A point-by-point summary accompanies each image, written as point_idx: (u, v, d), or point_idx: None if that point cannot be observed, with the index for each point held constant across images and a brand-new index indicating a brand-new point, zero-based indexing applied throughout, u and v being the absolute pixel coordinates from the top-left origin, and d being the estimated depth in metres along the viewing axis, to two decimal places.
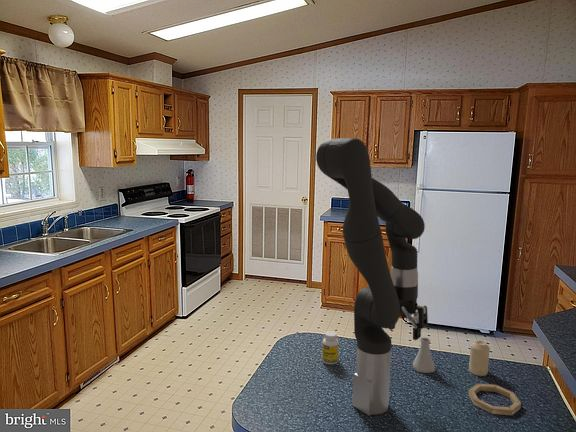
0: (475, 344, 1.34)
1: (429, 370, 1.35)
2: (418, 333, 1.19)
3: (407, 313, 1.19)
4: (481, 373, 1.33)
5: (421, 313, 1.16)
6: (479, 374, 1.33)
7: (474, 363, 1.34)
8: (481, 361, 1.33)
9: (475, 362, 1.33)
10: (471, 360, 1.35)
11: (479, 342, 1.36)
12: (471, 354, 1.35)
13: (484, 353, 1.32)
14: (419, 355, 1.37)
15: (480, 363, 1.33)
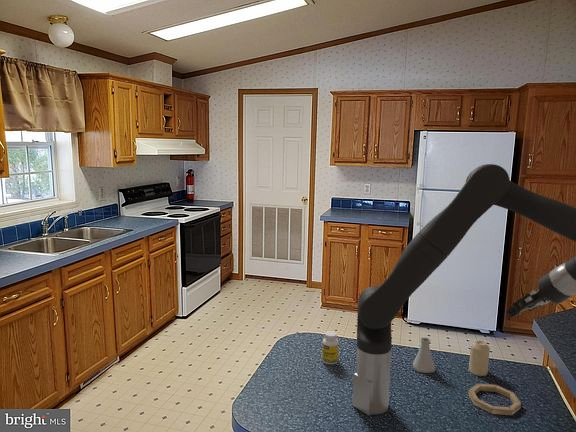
0: (475, 344, 1.34)
1: (429, 370, 1.35)
2: (511, 310, 1.16)
3: (529, 294, 1.14)
4: (481, 373, 1.33)
5: (524, 296, 1.11)
6: (479, 374, 1.33)
7: (474, 363, 1.34)
8: (481, 361, 1.33)
9: (475, 362, 1.33)
10: (471, 360, 1.35)
11: (479, 342, 1.36)
12: (471, 354, 1.35)
13: (484, 353, 1.32)
14: (419, 355, 1.37)
15: (480, 363, 1.33)
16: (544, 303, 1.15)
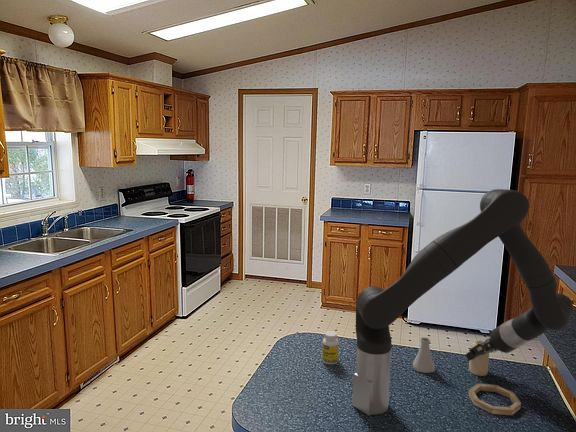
0: (475, 344, 1.34)
1: (429, 370, 1.35)
2: (469, 354, 1.34)
3: (483, 342, 1.31)
4: (481, 373, 1.33)
5: (476, 345, 1.28)
6: (479, 374, 1.33)
7: (474, 362, 1.34)
8: (481, 361, 1.33)
9: (475, 362, 1.33)
10: (471, 360, 1.35)
11: (479, 342, 1.36)
12: None
13: None
14: (419, 355, 1.37)
15: (480, 363, 1.33)
16: (495, 351, 1.32)
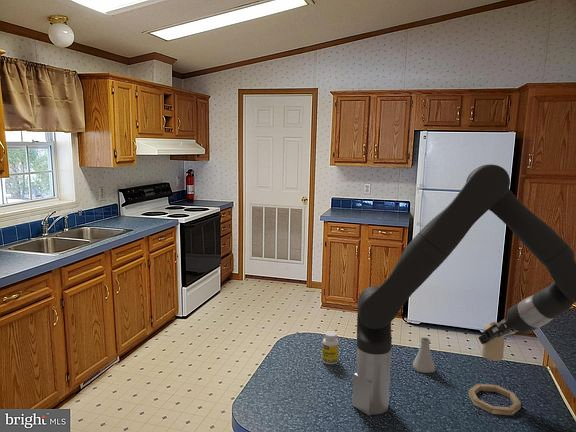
0: (489, 326, 1.21)
1: (429, 370, 1.35)
2: (482, 337, 1.20)
3: (499, 323, 1.17)
4: (496, 358, 1.20)
5: (491, 326, 1.15)
6: (494, 359, 1.20)
7: (489, 346, 1.20)
8: (496, 344, 1.19)
9: (489, 346, 1.20)
10: (485, 344, 1.21)
11: (493, 324, 1.22)
12: None
13: None
14: (419, 355, 1.37)
15: (495, 347, 1.19)
16: (512, 332, 1.18)
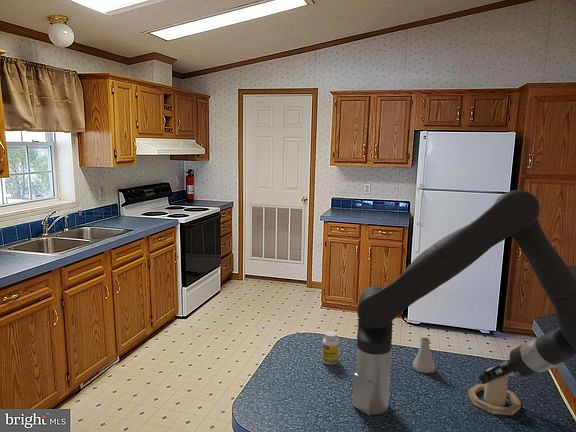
0: None
1: (429, 370, 1.35)
2: (483, 377, 1.17)
3: None
4: (499, 404, 1.17)
5: (495, 367, 1.11)
6: (496, 405, 1.17)
7: (491, 392, 1.18)
8: (498, 390, 1.17)
9: (491, 391, 1.17)
10: (487, 389, 1.19)
11: None
12: None
13: (502, 382, 1.16)
14: (419, 355, 1.37)
15: (497, 393, 1.17)
16: (516, 373, 1.16)
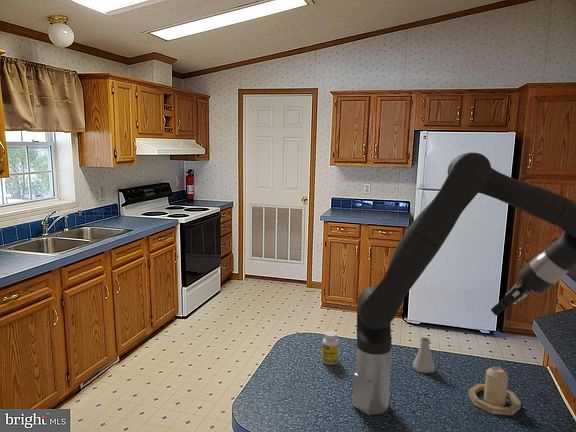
0: (491, 371, 1.18)
1: (429, 370, 1.35)
2: (497, 307, 1.14)
3: None
4: (498, 404, 1.17)
5: (511, 291, 1.09)
6: (496, 405, 1.17)
7: (491, 392, 1.18)
8: (498, 390, 1.17)
9: (491, 391, 1.17)
10: (487, 389, 1.19)
11: (496, 368, 1.20)
12: (487, 382, 1.19)
13: (502, 382, 1.16)
14: (419, 355, 1.37)
15: (497, 393, 1.17)
16: None
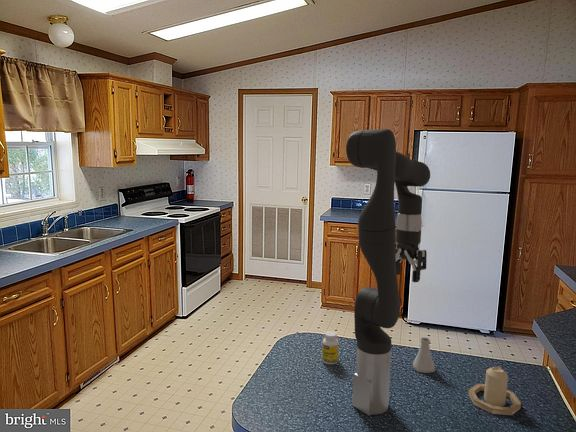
0: (491, 371, 1.18)
1: (429, 370, 1.35)
2: (417, 275, 1.29)
3: (408, 256, 1.30)
4: (498, 404, 1.17)
5: (419, 255, 1.26)
6: (496, 405, 1.17)
7: (491, 392, 1.18)
8: (498, 390, 1.17)
9: (491, 391, 1.17)
10: (487, 389, 1.19)
11: (496, 368, 1.20)
12: (487, 382, 1.19)
13: (502, 382, 1.16)
14: (419, 355, 1.37)
15: (497, 393, 1.17)
16: None
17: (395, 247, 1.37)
